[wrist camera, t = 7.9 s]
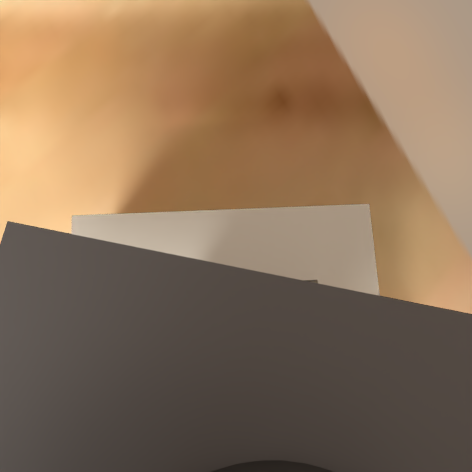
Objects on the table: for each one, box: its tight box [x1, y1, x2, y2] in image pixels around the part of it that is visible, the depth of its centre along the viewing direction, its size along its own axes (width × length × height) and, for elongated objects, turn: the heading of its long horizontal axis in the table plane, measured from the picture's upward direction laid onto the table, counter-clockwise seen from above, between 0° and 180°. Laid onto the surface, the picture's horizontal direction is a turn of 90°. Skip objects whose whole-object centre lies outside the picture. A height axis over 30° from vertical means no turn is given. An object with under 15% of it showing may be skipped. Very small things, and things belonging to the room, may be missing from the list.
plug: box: [0, 221, 472, 472], centre depth 8 cm, size 4×4×14 cm
